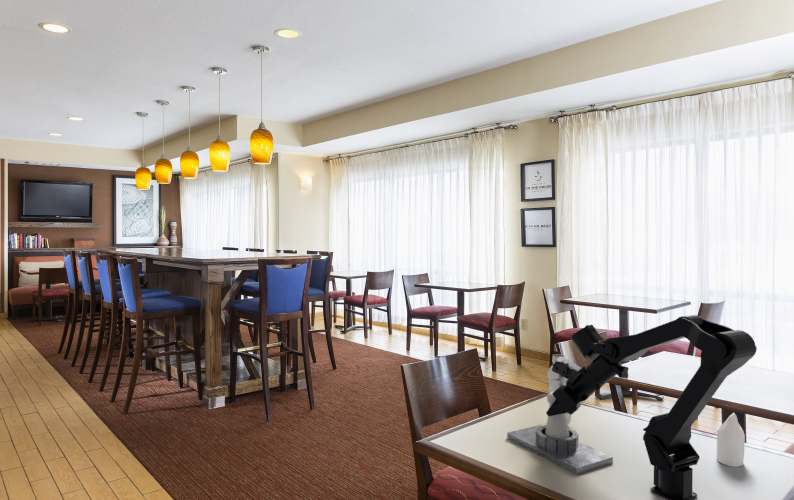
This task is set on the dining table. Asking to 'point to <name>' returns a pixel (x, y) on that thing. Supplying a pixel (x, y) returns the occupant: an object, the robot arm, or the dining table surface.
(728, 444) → the white pointed cylinder
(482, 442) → the dining table surface
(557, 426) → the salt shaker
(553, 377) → the plastic bottle
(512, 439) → the plate with ring
